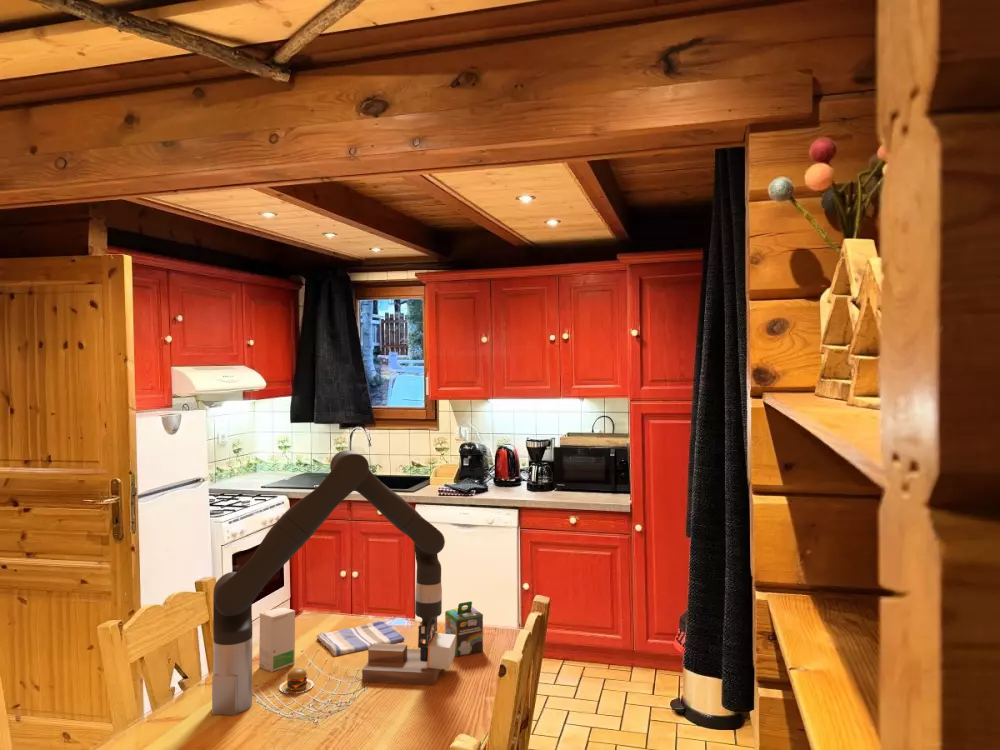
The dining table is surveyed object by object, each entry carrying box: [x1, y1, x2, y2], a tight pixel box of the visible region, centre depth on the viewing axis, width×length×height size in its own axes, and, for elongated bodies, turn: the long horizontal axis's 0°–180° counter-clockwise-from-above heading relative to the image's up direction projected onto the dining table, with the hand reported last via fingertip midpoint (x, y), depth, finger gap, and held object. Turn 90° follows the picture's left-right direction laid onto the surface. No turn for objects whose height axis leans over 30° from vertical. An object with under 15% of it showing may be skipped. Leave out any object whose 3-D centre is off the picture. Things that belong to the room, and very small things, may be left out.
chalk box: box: [444, 601, 484, 657], centre depth 214 cm, size 9×9×15 cm
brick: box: [427, 632, 456, 670], centre depth 196 cm, size 10×6×6 cm
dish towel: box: [315, 620, 405, 657], centre depth 221 cm, size 17×24×3 cm
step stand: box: [361, 643, 442, 686], centre depth 197 cm, size 16×20×7 cm
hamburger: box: [278, 667, 315, 694], centre depth 187 cm, size 12×12×6 cm
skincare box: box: [258, 607, 296, 673], centre depth 201 cm, size 8×7×16 cm
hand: (427, 655), depth 197 cm, fingers open, 8 cm apart
